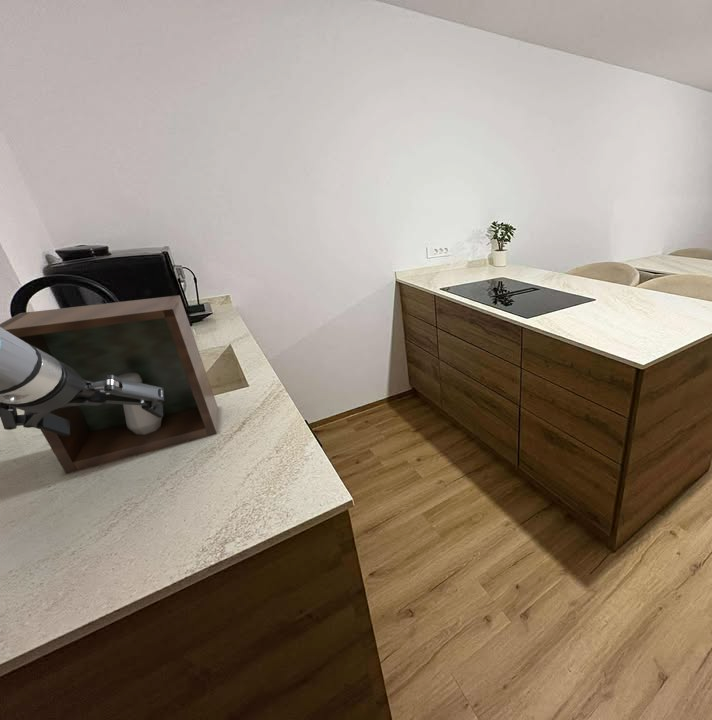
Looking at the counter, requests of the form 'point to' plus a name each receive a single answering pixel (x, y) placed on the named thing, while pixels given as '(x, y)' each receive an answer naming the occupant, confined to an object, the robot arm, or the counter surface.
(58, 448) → the brown wooden box
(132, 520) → the counter surface
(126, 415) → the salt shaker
